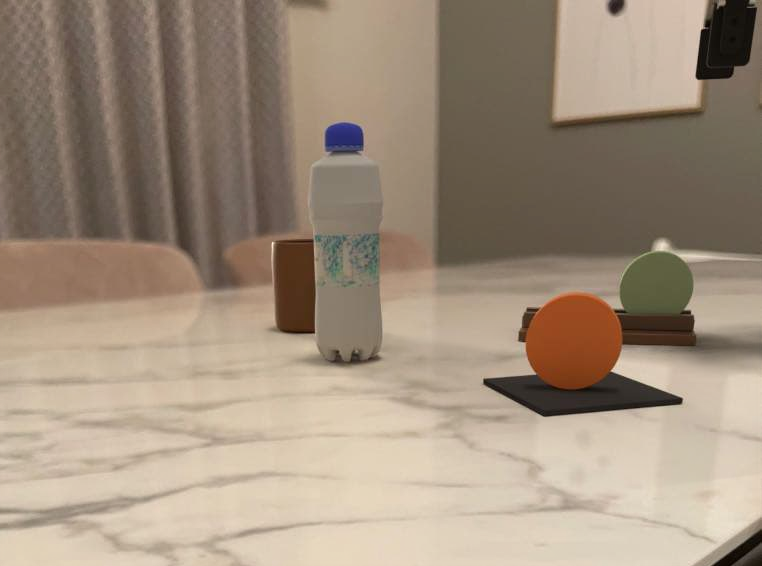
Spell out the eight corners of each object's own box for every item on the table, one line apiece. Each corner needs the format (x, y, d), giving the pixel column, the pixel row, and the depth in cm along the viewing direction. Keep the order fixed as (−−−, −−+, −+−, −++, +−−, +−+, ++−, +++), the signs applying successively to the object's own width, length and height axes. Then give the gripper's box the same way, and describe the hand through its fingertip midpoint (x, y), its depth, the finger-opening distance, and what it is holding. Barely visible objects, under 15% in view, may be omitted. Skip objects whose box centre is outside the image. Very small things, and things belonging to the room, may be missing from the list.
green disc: (615, 321, 88) (622, 250, 85) (687, 322, 86) (696, 250, 84) (616, 323, 87) (623, 251, 84) (688, 325, 85) (698, 251, 82)
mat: (604, 373, 71) (604, 368, 71) (682, 403, 61) (683, 398, 61) (482, 383, 69) (482, 378, 69) (544, 416, 59) (544, 410, 59)
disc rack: (525, 327, 94) (526, 304, 93) (687, 330, 90) (690, 306, 89) (518, 341, 86) (519, 316, 85) (695, 345, 82) (699, 319, 81)
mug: (383, 323, 99) (383, 237, 95) (374, 333, 92) (373, 242, 88) (284, 322, 101) (279, 238, 97) (267, 333, 94) (262, 243, 90)
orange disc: (530, 389, 67) (523, 298, 64) (623, 380, 64) (620, 286, 62) (528, 393, 65) (521, 300, 63) (624, 385, 63) (620, 289, 61)
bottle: (319, 351, 83) (310, 125, 76) (387, 350, 83) (385, 123, 75) (308, 364, 77) (298, 120, 69) (382, 364, 76) (379, 118, 69)
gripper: (831, -230, 57) (786, 58, 64) (784, -144, 73) (751, 81, 79) (713, -215, 59) (681, 63, 66) (691, -134, 75) (667, 85, 81)
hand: (720, 73), depth 73 cm, fingers open, 9 cm apart
